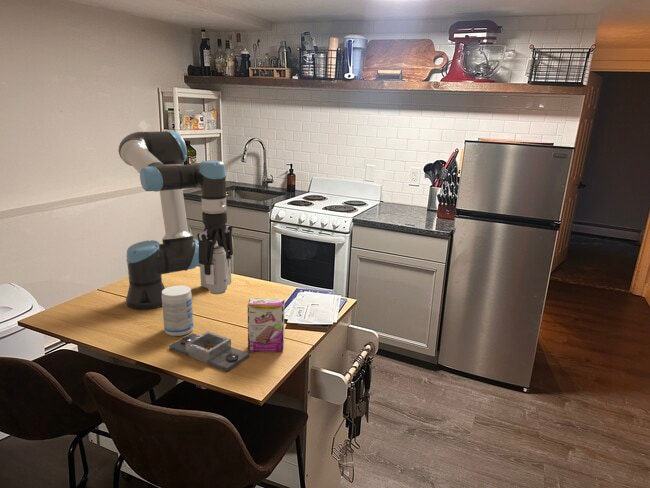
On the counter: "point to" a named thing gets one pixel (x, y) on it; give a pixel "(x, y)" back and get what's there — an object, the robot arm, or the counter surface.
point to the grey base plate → (210, 350)
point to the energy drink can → (219, 271)
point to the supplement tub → (177, 310)
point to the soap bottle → (203, 276)
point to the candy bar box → (266, 325)
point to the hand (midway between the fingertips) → (217, 280)
